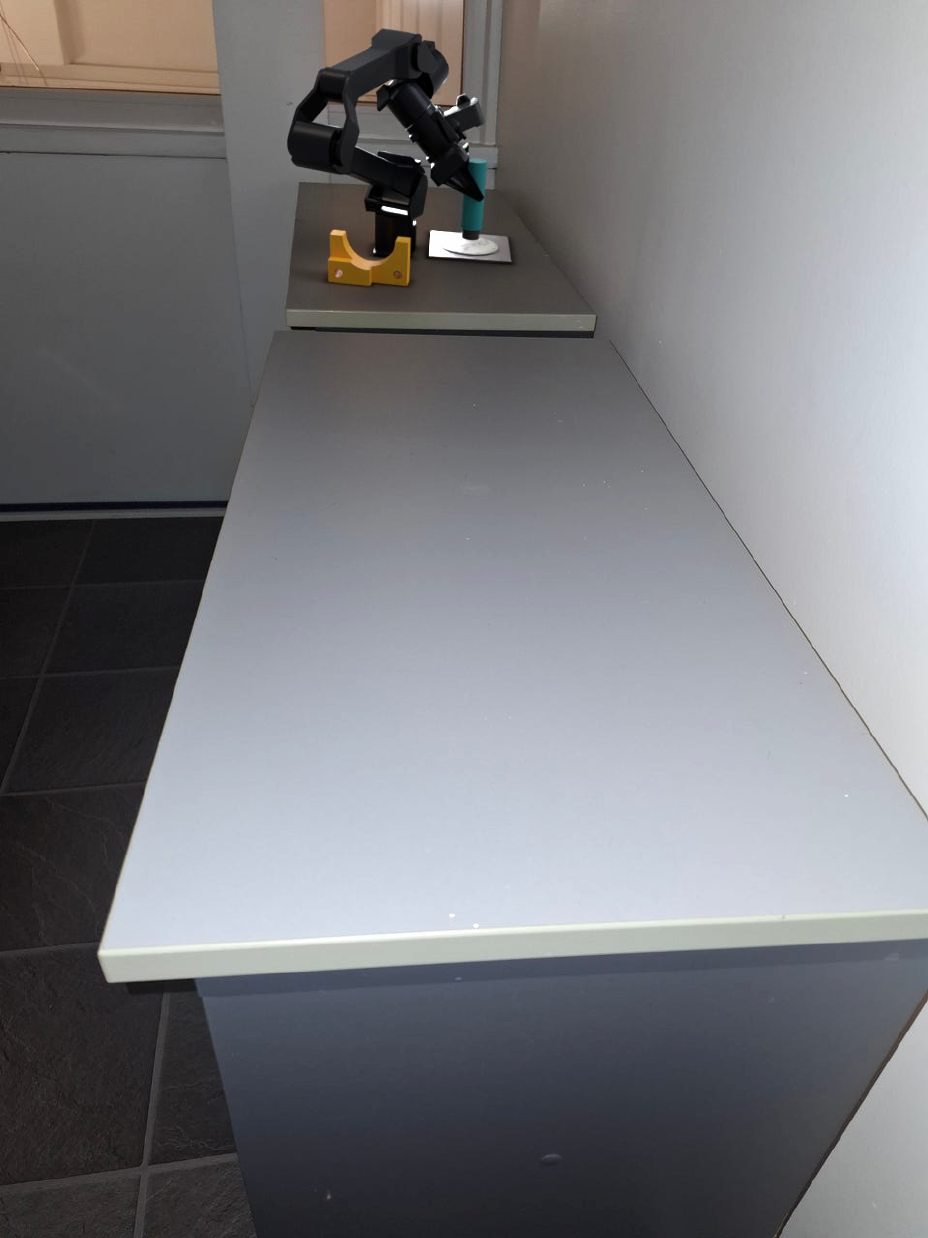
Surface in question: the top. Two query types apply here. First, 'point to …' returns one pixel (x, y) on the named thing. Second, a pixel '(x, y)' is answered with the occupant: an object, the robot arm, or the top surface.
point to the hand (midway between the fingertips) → (482, 196)
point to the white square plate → (469, 248)
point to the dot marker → (474, 202)
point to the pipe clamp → (367, 263)
